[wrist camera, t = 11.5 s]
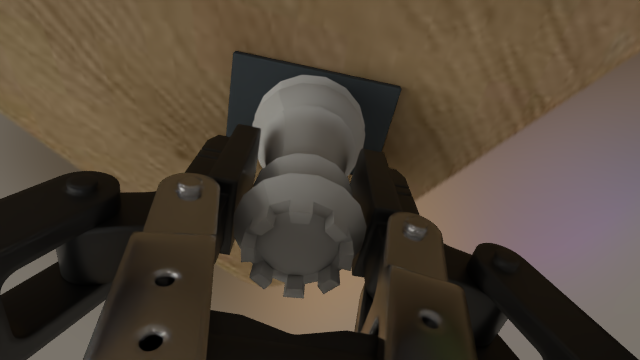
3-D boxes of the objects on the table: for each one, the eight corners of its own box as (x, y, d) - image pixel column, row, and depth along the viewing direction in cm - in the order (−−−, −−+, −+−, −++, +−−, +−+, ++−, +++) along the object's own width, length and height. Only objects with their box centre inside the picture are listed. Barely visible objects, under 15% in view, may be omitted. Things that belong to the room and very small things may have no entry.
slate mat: (400, 85, 15) (402, 88, 15) (371, 174, 18) (373, 178, 17) (235, 50, 15) (232, 52, 14) (226, 147, 17) (224, 150, 17)
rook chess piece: (233, 104, 15) (151, 224, 8) (333, 49, 14) (342, 130, 7) (290, 188, 17) (265, 345, 10) (381, 146, 15) (427, 289, 8)
